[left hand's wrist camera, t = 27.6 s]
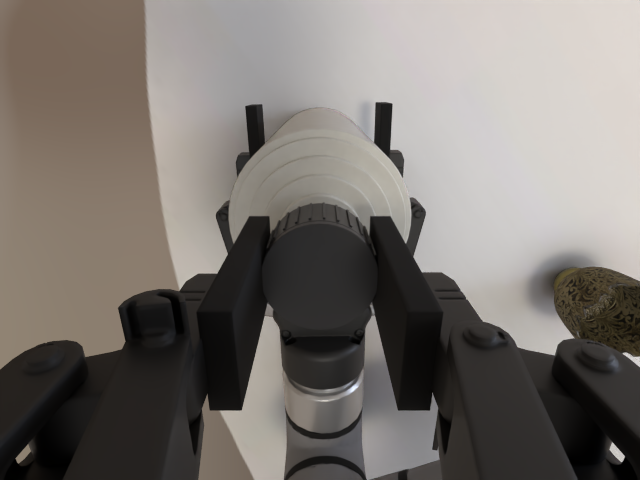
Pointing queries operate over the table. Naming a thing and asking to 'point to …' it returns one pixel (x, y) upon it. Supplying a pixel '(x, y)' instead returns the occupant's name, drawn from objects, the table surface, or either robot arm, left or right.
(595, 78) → the table surface
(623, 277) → the cup
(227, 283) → the left robot arm
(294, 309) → the cap
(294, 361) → the right robot arm
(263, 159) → the bottle
